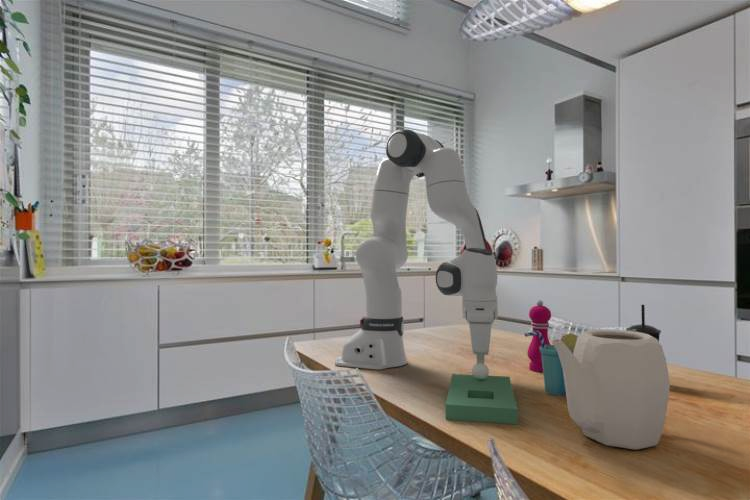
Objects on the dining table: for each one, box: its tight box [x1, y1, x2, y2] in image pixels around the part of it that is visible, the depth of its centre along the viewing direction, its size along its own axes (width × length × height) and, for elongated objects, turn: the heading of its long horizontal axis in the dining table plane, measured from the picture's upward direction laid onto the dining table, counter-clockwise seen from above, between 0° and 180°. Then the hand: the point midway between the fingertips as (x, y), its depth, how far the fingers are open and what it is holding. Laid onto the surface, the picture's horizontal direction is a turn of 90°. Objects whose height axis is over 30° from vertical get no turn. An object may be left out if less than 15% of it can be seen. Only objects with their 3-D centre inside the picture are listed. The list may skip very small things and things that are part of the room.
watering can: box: [550, 328, 671, 451], centre depth 81 cm, size 16×27×19 cm, turn 110°
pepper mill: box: [526, 299, 552, 373], centre depth 130 cm, size 7×7×20 cm
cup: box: [524, 330, 579, 397], centre depth 109 cm, size 14×8×15 cm, turn 99°
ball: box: [471, 362, 490, 380], centre depth 109 cm, size 4×4×4 cm
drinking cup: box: [625, 304, 662, 341], centre depth 116 cm, size 8×8×20 cm
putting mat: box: [445, 373, 519, 425], centre depth 102 cm, size 14×24×3 cm, turn 167°
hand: (480, 365), depth 116 cm, fingers closed
